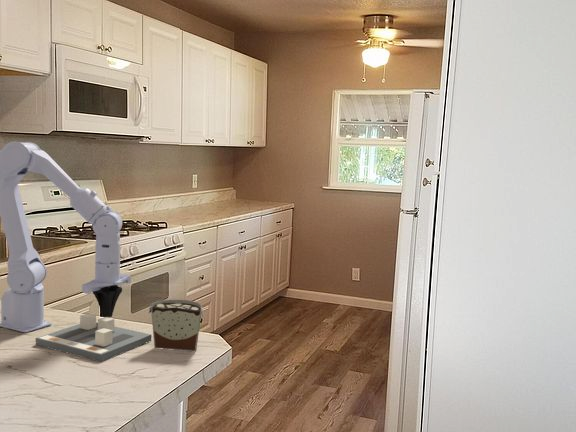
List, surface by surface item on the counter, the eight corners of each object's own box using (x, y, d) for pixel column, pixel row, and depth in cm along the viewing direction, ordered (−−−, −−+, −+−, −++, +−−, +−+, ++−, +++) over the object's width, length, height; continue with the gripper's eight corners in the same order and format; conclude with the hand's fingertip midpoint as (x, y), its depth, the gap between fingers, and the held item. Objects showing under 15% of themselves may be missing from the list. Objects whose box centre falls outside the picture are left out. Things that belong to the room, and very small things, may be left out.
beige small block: (80, 328, 138) (80, 315, 138) (88, 325, 140) (88, 313, 140) (88, 330, 137) (88, 317, 137) (96, 327, 139) (96, 314, 139)
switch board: (35, 344, 130) (35, 337, 130) (89, 326, 145) (89, 320, 144) (101, 361, 122) (101, 354, 122) (151, 340, 136) (151, 334, 136)
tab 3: (95, 344, 127) (95, 331, 127) (103, 341, 130) (103, 328, 129) (104, 346, 126) (104, 333, 126) (112, 343, 129) (112, 330, 128)
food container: (208, 343, 137) (210, 301, 136) (202, 352, 131) (203, 307, 129) (156, 339, 138) (157, 297, 137) (147, 347, 132) (148, 304, 131)
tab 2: (98, 332, 136) (98, 319, 135) (105, 329, 138) (105, 317, 138) (106, 334, 135) (106, 321, 134) (114, 331, 137) (114, 318, 137)
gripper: (98, 268, 134) (97, 326, 136) (140, 259, 147) (139, 312, 149) (75, 264, 137) (74, 321, 139) (118, 256, 150) (118, 308, 152)
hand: (106, 316), depth 144 cm, fingers closed
